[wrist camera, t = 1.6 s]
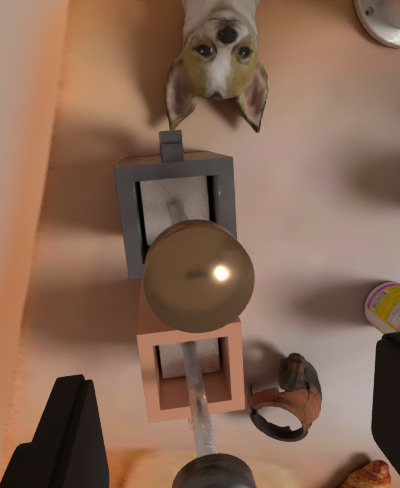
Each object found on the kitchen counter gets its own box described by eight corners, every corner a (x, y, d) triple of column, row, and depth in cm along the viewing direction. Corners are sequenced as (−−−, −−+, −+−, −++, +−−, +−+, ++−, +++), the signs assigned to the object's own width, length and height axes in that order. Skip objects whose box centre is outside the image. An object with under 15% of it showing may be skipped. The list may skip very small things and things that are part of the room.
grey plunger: (156, 323, 37) (160, 487, 20) (215, 316, 38) (268, 469, 20) (162, 375, 39) (171, 567, 22) (218, 367, 39) (271, 548, 22)
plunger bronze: (140, 180, 33) (126, 226, 16) (205, 174, 34) (261, 213, 17) (147, 243, 35) (142, 348, 18) (209, 237, 36) (264, 332, 18)
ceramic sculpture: (298, -59, 30) (281, 135, 35) (268, -23, 39) (257, 131, 43) (164, -69, 29) (165, 133, 34) (162, -30, 37) (163, 129, 42)
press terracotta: (141, 277, 46) (136, 335, 32) (215, 268, 46) (240, 322, 33) (151, 359, 49) (151, 443, 35) (220, 350, 50) (246, 429, 36)
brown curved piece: (319, 401, 54) (314, 455, 48) (254, 384, 57) (240, 433, 51) (330, 339, 48) (326, 392, 42) (256, 324, 51) (241, 371, 45)
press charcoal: (123, 135, 41) (109, 135, 28) (206, 129, 42) (231, 125, 29) (136, 236, 44) (129, 280, 31) (212, 229, 45) (238, 267, 32)
